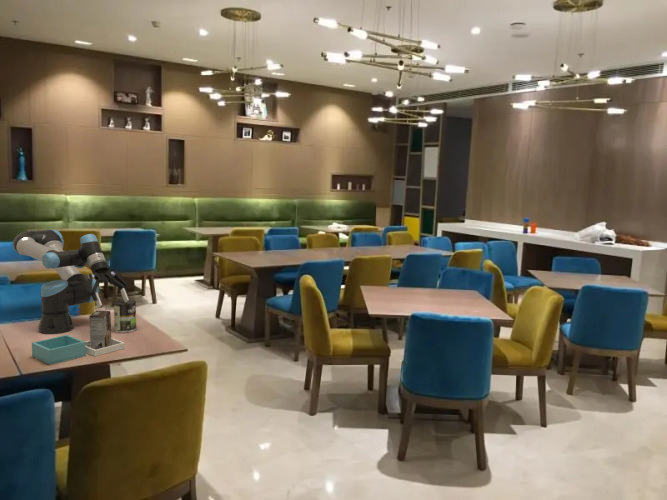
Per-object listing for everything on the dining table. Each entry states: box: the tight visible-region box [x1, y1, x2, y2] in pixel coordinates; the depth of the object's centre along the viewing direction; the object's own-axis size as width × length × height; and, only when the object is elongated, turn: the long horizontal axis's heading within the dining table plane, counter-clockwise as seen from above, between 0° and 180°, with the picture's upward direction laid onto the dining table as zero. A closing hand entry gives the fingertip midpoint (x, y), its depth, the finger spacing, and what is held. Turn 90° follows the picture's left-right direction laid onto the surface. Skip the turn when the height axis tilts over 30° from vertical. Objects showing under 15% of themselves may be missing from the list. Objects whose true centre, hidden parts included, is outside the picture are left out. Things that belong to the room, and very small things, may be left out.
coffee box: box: [88, 310, 112, 350], centre depth 243 cm, size 9×6×16 cm
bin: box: [31, 334, 87, 366], centre depth 233 cm, size 15×15×6 cm
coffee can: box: [113, 298, 137, 334], centre depth 272 cm, size 10×10×14 cm
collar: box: [84, 337, 126, 357], centre depth 244 cm, size 14×14×2 cm
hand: (113, 303), depth 261 cm, fingers open, 13 cm apart
